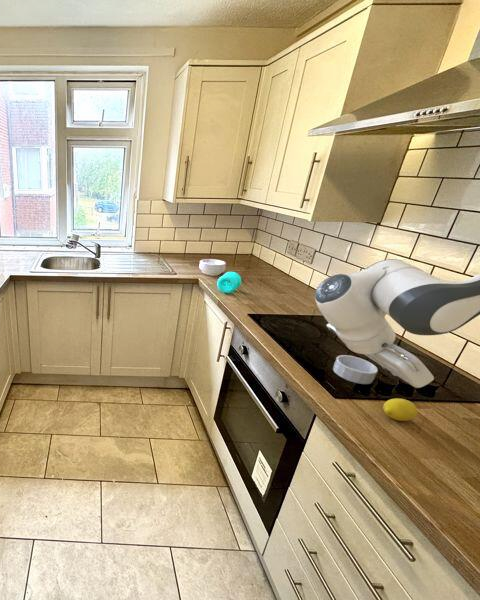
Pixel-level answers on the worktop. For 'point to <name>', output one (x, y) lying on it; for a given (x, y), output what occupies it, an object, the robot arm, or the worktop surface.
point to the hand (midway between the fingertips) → (393, 370)
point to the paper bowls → (212, 266)
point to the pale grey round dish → (355, 369)
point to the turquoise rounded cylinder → (225, 285)
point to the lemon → (400, 409)
